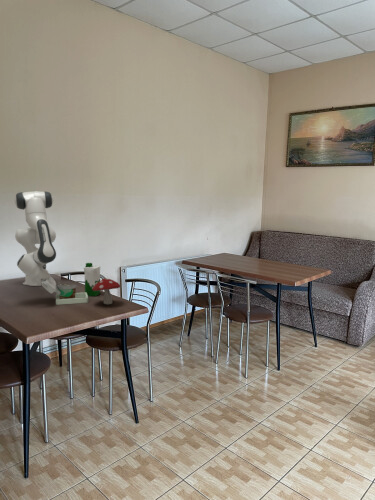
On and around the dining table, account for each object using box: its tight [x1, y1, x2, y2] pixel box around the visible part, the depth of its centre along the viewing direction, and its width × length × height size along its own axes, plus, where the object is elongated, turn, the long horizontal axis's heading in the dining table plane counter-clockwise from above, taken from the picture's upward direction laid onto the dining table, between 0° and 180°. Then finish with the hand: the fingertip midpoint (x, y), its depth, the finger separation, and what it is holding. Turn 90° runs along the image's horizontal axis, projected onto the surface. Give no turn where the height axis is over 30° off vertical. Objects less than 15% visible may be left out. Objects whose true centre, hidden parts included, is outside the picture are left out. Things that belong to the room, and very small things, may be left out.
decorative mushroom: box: [92, 277, 121, 305], centre depth 222 cm, size 16×16×15 cm
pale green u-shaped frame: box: [55, 291, 89, 306], centre depth 228 cm, size 13×18×3 cm
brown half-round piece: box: [56, 282, 78, 299], centre depth 226 cm, size 12×6×10 cm, turn 73°
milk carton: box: [83, 262, 101, 297], centre depth 241 cm, size 9×9×20 cm
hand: (60, 293), depth 226 cm, fingers closed
